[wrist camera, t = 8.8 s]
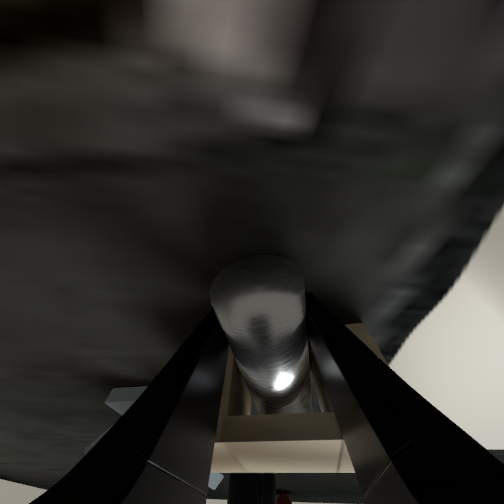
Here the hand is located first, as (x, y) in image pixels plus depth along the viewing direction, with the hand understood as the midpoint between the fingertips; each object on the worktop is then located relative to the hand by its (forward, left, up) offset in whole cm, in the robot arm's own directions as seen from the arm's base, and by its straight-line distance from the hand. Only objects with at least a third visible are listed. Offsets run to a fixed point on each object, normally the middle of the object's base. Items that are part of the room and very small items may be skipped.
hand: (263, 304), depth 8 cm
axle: (-3, 0, +1) cm, 3 cm away
